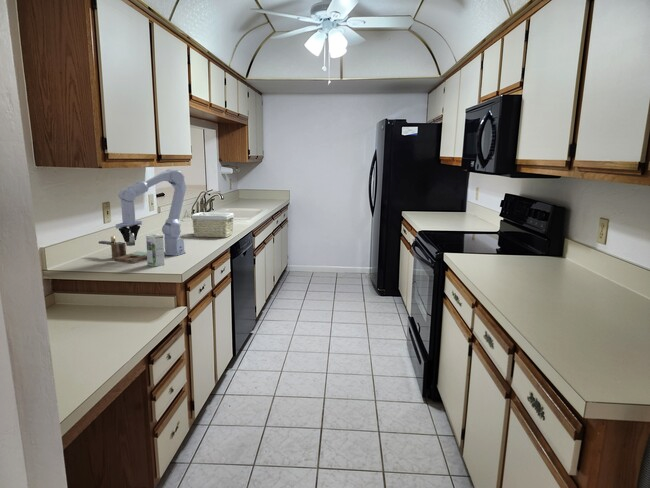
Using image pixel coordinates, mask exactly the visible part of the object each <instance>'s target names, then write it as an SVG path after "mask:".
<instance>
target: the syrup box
mask: <svg viewBox="0 0 650 488" xmlns="http://www.w3.org/2000/svg"><path fill="white" fill-rule="evenodd" d="M145 240H146V252H147V255H146V256H147V259H146V260H147V262H146V263H147V264H146V265H148V266H151V267H160V266H163V265H165V254H164V252H165V241H164V234H163V235H162V234H158V233H151V234H147V235H145Z"/></svg>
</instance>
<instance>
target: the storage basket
mask: <svg viewBox="0 0 650 488" xmlns="http://www.w3.org/2000/svg"><path fill="white" fill-rule="evenodd" d="M234 217H235V214H234V212H214V211H213V212H212V211H211V212H210V211H209V212H207V211H200V212H196V213H194V214H191V221H192V228H193V229H192V230H193V236H194V237H195V238H196V237H197V238H227V237H229V236H230V237H231V236H232V235H233V230H234Z"/></svg>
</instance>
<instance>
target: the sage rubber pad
mask: <svg viewBox="0 0 650 488" xmlns="http://www.w3.org/2000/svg"><path fill="white" fill-rule="evenodd" d="M128 254H135V255H142V256H147V251H139V250H138V251H133V252H130V253H126V255H128Z"/></svg>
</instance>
